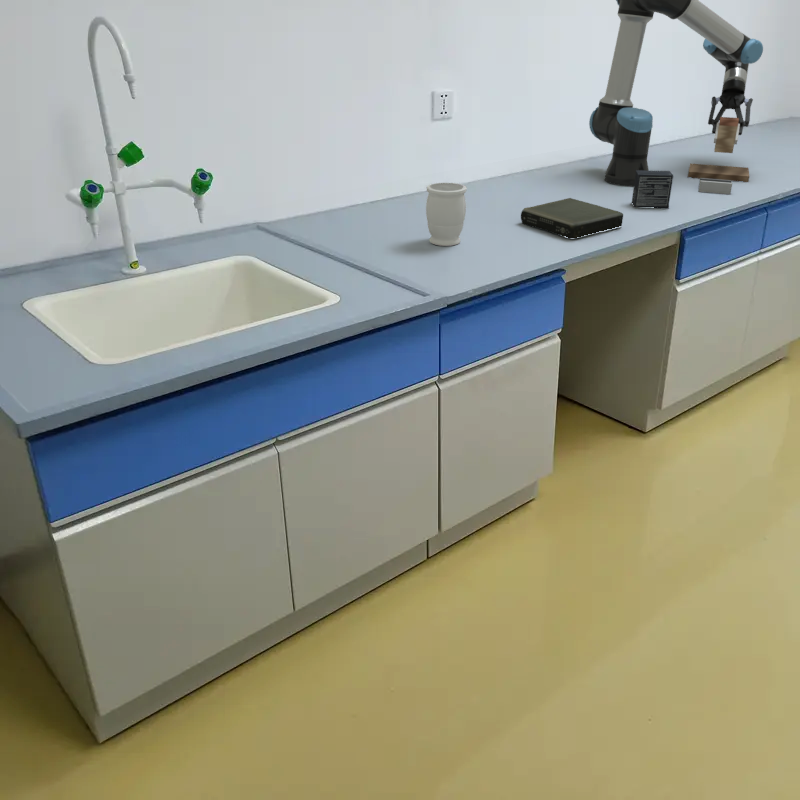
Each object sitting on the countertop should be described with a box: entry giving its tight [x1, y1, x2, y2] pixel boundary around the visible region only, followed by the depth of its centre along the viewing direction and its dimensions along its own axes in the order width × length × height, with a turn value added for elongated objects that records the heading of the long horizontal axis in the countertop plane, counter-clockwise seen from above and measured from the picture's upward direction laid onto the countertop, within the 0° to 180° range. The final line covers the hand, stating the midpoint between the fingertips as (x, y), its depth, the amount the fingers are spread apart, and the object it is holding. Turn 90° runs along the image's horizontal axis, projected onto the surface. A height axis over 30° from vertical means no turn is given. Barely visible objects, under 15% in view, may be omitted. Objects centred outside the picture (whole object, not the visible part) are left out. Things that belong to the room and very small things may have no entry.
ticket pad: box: [713, 116, 739, 154], centre depth 283 cm, size 6×5×11 cm
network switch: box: [520, 197, 624, 238], centre depth 234 cm, size 23×24×5 cm
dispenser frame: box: [698, 178, 733, 195], centre depth 271 cm, size 10×9×4 cm
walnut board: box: [687, 163, 750, 183], centre depth 289 cm, size 20×14×2 cm
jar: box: [425, 182, 468, 247], centre depth 217 cm, size 11×10×15 cm
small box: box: [631, 170, 674, 209], centre depth 251 cm, size 11×6×10 cm, turn 84°
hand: (725, 141), depth 281 cm, fingers closed on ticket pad, 6 cm apart
